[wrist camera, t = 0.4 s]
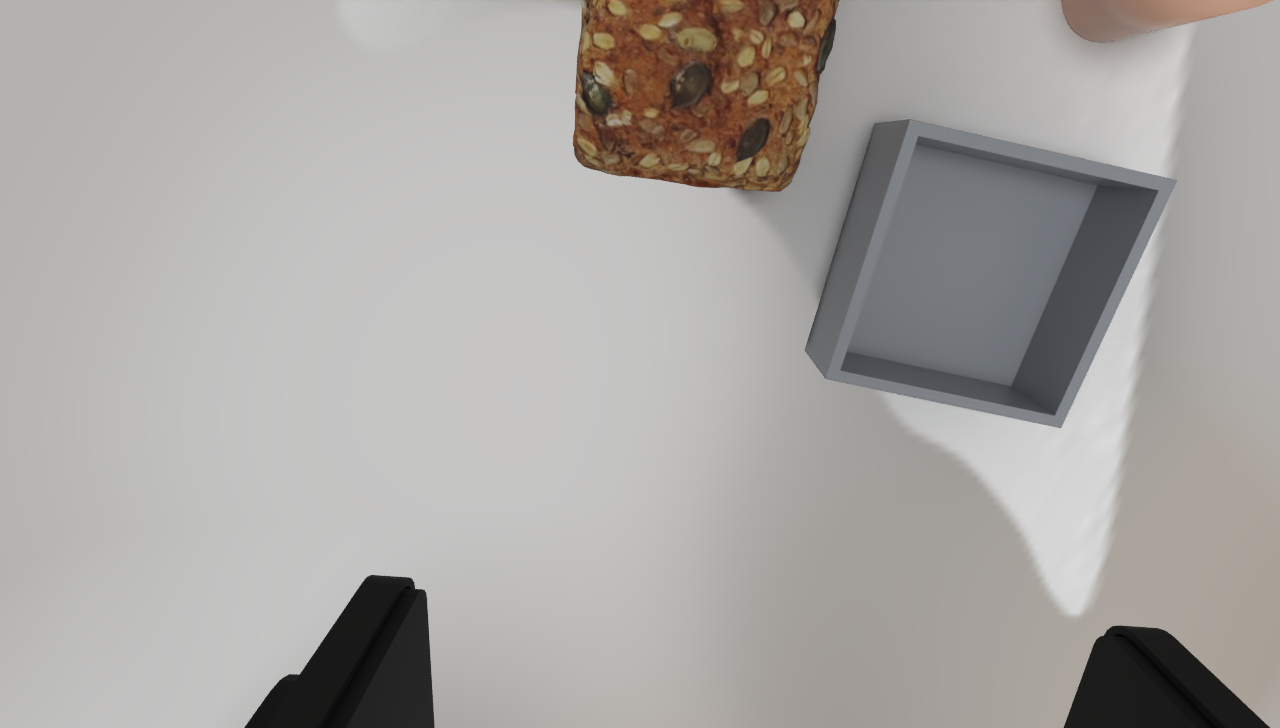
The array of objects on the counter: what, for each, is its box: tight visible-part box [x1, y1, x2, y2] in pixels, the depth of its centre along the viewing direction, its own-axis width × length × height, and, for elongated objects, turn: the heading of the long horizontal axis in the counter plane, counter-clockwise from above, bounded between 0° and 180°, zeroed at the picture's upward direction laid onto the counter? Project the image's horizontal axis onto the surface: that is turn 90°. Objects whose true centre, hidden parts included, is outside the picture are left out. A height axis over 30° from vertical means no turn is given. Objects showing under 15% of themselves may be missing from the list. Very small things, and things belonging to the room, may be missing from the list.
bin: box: [805, 119, 1177, 428], centre depth 34 cm, size 13×13×5 cm
